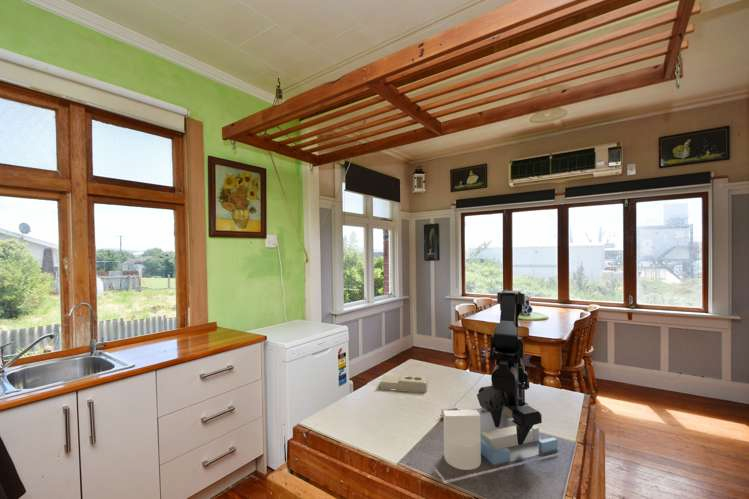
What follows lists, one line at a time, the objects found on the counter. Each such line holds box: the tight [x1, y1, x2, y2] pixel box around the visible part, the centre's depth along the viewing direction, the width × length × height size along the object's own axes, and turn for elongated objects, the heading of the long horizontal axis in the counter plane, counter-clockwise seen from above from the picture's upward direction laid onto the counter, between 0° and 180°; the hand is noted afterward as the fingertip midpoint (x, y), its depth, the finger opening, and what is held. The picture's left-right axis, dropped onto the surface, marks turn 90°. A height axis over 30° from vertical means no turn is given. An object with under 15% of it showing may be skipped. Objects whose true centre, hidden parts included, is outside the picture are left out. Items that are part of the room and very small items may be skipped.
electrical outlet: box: [379, 374, 429, 393], centre depth 131 cm, size 7×4×18 cm
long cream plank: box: [482, 425, 540, 450], centre depth 90 cm, size 16×4×3 cm, turn 108°
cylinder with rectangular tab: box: [443, 409, 482, 471], centre depth 83 cm, size 9×9×12 cm
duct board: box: [439, 406, 559, 467], centre depth 96 cm, size 20×27×4 cm
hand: (508, 435), depth 90 cm, fingers open, 9 cm apart
